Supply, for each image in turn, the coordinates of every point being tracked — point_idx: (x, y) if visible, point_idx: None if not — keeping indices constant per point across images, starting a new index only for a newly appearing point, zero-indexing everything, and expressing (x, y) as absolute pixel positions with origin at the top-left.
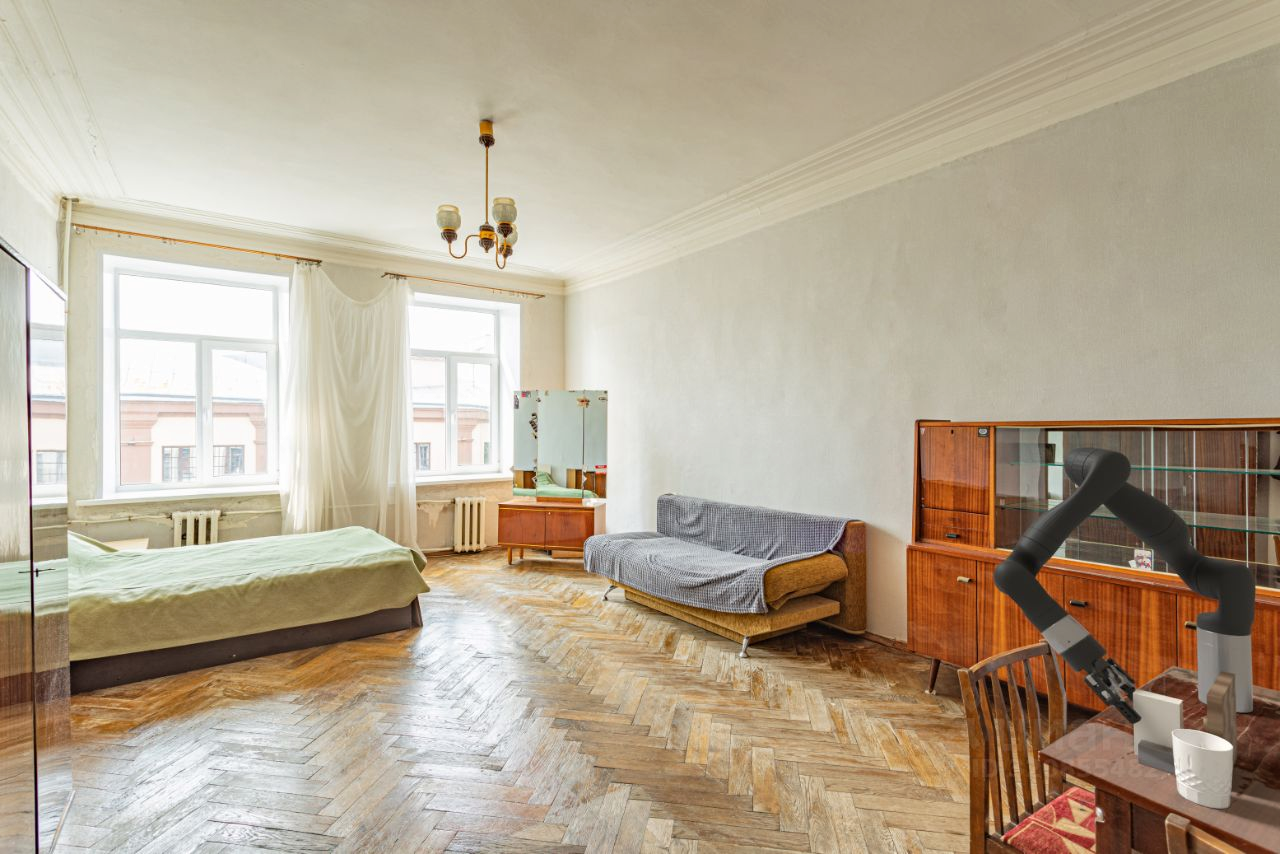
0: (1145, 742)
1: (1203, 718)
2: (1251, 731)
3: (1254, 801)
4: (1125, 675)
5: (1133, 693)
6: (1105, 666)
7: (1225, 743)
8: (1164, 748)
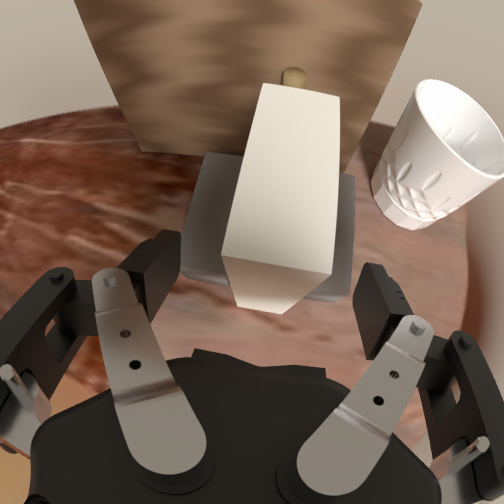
0: None
1: (299, 80)
2: (35, 133)
3: None
4: (48, 312)
5: (329, 271)
6: (176, 497)
7: (426, 86)
8: None
